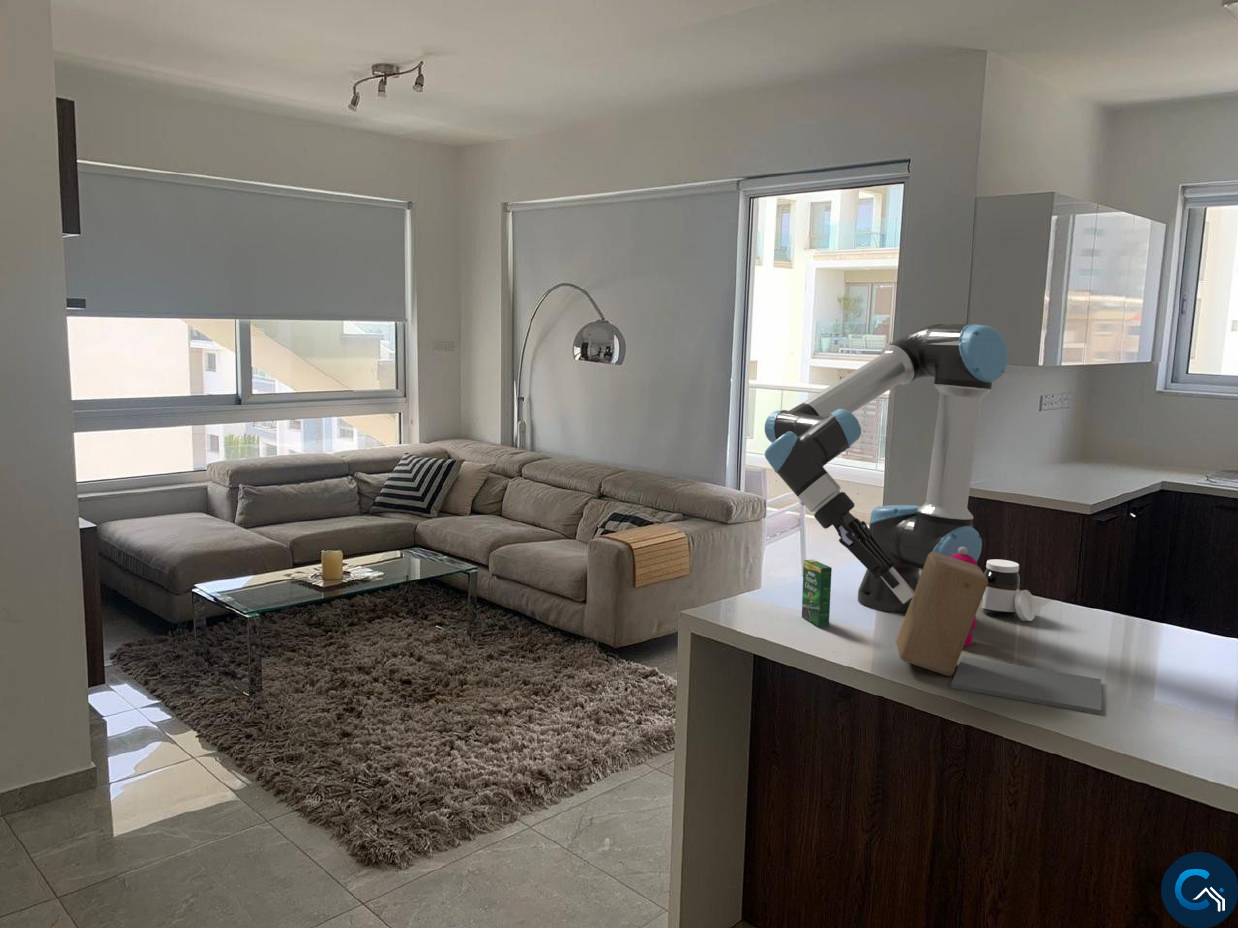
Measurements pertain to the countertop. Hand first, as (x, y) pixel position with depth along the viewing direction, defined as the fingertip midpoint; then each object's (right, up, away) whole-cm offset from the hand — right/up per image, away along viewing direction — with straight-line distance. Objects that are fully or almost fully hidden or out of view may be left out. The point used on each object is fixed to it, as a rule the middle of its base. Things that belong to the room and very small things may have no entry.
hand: (909, 598), depth 177 cm
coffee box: (-12, -9, +27) cm, 31 cm away
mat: (+19, -15, -7) cm, 25 cm away
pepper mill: (+15, -11, +16) cm, 25 cm away
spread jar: (+33, -9, +35) cm, 49 cm away
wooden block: (+3, -12, +1) cm, 12 cm away
